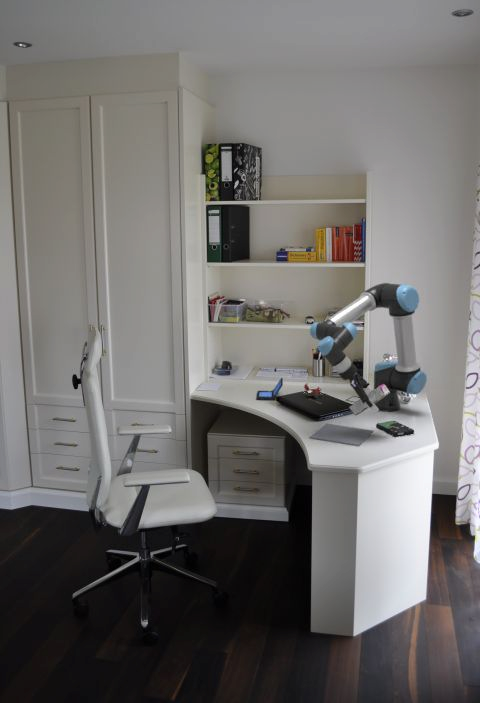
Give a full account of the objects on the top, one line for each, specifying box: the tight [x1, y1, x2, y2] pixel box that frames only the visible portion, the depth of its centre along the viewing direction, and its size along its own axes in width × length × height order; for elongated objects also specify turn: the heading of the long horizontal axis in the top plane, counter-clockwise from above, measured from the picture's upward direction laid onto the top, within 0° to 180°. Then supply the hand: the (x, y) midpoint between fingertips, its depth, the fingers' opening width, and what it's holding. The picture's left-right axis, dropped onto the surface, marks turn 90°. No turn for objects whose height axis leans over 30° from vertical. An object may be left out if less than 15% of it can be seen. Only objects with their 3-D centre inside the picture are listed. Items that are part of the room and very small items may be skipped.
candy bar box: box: [348, 384, 390, 417], centre depth 292 cm, size 11×5×16 cm
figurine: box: [303, 382, 324, 395], centre depth 355 cm, size 15×12×7 cm
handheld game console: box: [256, 377, 284, 402], centre depth 356 cm, size 16×13×9 cm
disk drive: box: [375, 420, 415, 438], centre depth 302 cm, size 10×3×15 cm
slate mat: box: [308, 422, 374, 447], centre depth 295 cm, size 22×22×1 cm
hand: (375, 405), depth 293 cm, fingers closed on candy bar box, 12 cm apart
